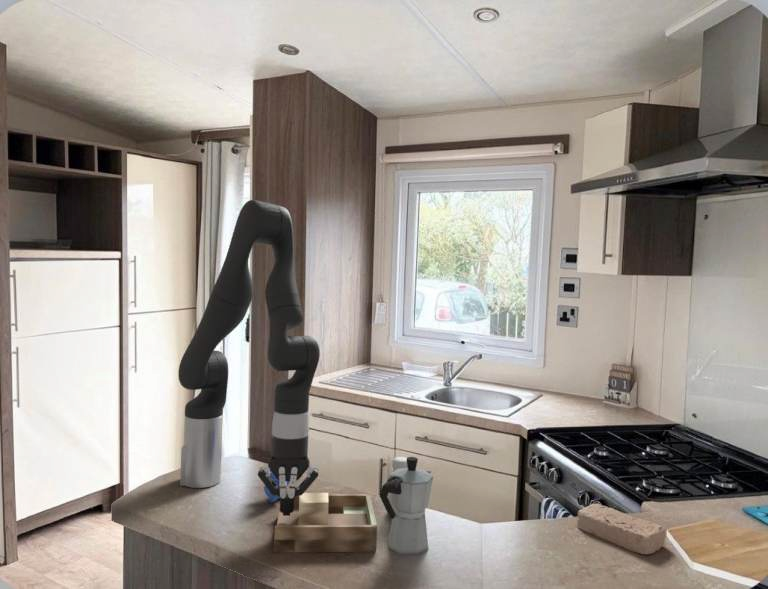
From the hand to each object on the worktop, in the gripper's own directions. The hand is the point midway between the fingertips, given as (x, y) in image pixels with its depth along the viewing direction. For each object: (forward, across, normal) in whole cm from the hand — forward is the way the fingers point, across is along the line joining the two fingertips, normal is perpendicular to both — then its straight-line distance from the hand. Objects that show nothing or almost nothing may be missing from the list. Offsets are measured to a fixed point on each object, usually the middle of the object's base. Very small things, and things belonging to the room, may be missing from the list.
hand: (286, 513), depth 116 cm
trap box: (+4, -8, 0) cm, 9 cm away
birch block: (+2, -6, 0) cm, 6 cm away
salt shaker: (+4, -25, -10) cm, 27 cm away
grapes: (+4, +4, -18) cm, 19 cm away
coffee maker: (+4, -24, +6) cm, 25 cm away
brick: (+4, -72, +2) cm, 72 cm away
